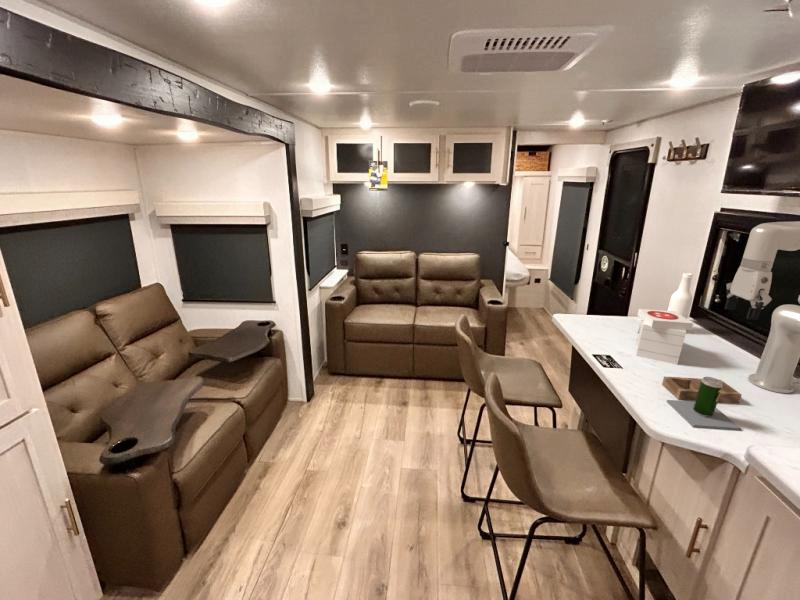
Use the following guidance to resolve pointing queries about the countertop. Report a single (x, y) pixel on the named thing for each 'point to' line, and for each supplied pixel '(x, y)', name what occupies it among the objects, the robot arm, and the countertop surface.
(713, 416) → the rubber mat
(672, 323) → the pizza boxes
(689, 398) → the can holder
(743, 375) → the countertop surface
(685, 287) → the alcohol
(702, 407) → the beer can
